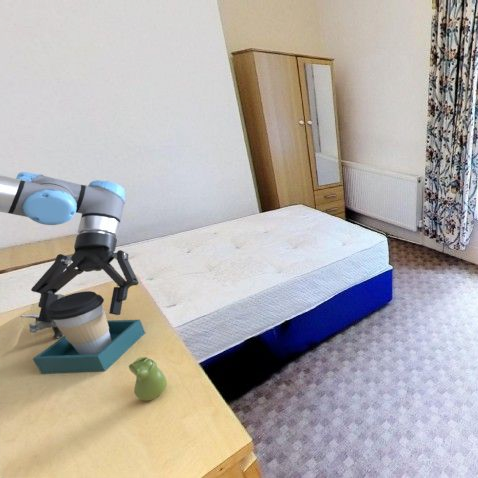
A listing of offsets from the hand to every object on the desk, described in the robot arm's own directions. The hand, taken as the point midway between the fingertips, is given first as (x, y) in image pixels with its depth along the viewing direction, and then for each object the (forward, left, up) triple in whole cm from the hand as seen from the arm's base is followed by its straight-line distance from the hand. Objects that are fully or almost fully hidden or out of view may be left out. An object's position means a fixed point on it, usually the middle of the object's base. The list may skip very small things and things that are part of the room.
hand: (80, 317), depth 77 cm
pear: (+23, -14, -11) cm, 29 cm away
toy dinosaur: (-15, +11, -11) cm, 22 cm away
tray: (0, 0, -11) cm, 11 cm away
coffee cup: (0, 0, -10) cm, 10 cm away
